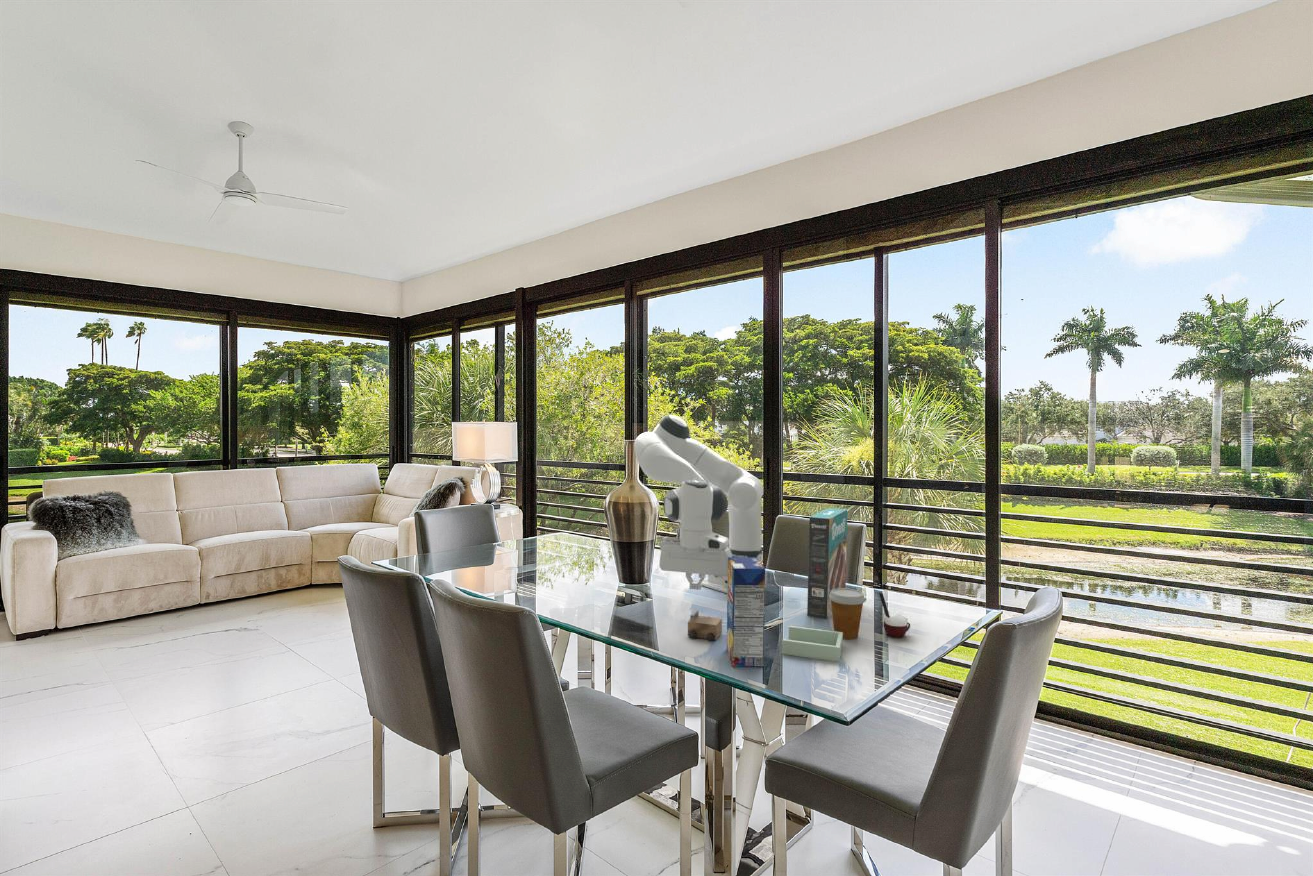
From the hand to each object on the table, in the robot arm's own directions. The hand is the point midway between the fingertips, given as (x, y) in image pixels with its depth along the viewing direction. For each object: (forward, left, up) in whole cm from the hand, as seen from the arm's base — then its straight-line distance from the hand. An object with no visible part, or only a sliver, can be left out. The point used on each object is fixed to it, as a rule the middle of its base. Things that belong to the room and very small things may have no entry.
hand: (695, 589), depth 179 cm
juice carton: (+20, -6, -13) cm, 24 cm away
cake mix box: (+17, +47, -13) cm, 51 cm away
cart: (+3, +1, -13) cm, 13 cm away
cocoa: (+42, +36, -13) cm, 57 cm away
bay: (+30, +11, -13) cm, 34 cm away
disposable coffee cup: (+32, +27, -13) cm, 44 cm away
